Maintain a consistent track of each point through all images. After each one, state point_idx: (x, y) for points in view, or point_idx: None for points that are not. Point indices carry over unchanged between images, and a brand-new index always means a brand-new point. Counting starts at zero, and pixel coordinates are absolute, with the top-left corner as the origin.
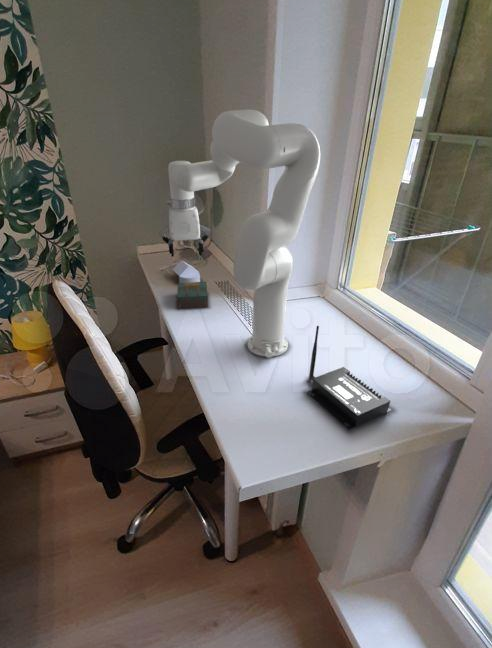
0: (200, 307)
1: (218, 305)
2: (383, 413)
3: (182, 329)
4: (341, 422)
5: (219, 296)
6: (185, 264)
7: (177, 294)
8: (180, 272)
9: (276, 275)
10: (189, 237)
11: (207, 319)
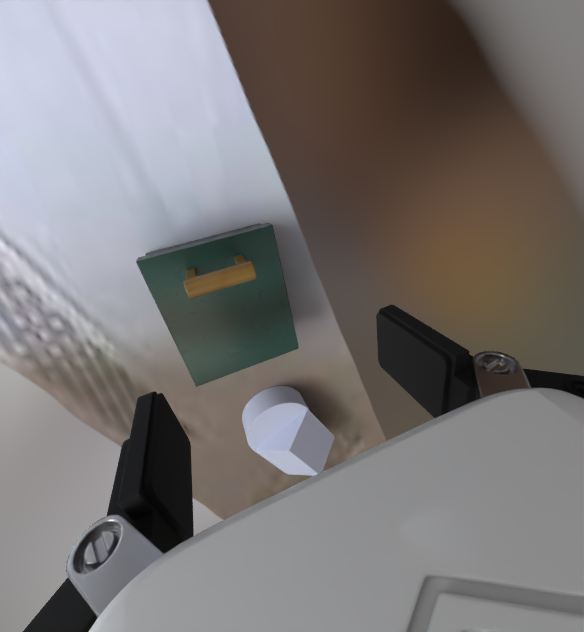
0: (176, 245)
1: (107, 279)
2: None
3: (187, 16)
4: None
5: (136, 349)
6: (302, 459)
7: (278, 254)
8: (308, 424)
9: None
10: (297, 538)
11: (101, 136)
